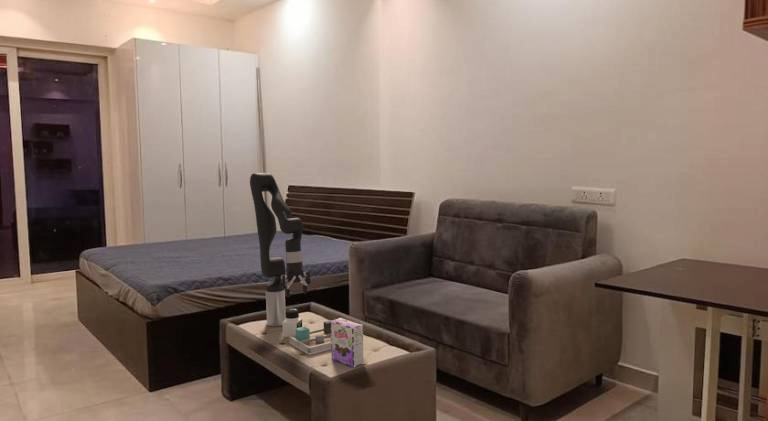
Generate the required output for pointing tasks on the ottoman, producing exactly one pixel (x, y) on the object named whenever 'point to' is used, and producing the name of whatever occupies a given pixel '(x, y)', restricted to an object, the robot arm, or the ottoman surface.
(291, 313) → the medicine bottle
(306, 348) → the lane board
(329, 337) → the strip walnut
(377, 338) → the ottoman surface
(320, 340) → the grey puck
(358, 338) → the candy box
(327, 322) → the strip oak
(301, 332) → the cube
